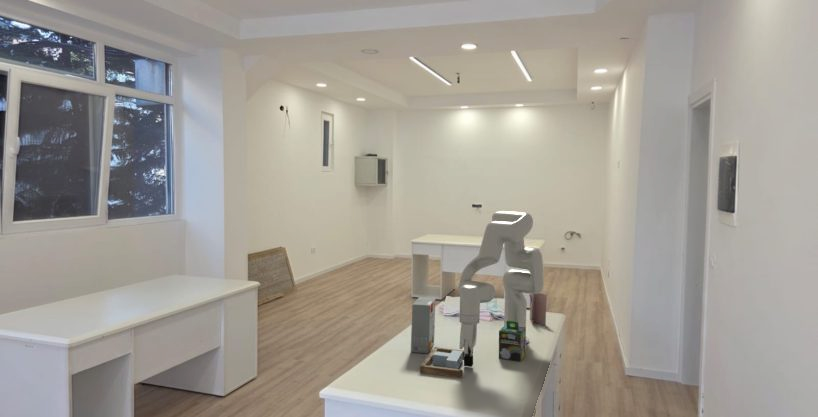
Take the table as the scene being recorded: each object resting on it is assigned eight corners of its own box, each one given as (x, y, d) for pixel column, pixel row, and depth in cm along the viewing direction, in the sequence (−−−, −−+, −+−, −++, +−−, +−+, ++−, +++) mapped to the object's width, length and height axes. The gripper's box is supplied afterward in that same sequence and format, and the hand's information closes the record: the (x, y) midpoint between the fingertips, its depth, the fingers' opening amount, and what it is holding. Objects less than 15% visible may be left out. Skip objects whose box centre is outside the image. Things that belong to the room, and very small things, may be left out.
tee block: (437, 358, 210) (437, 348, 210) (462, 361, 207) (462, 351, 207) (430, 368, 198) (430, 357, 198) (456, 371, 196) (456, 361, 195)
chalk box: (525, 355, 216) (527, 319, 215) (520, 362, 208) (521, 324, 207) (503, 351, 220) (504, 316, 219) (497, 358, 211) (498, 321, 211)
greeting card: (527, 319, 271) (528, 290, 270) (542, 319, 271) (543, 290, 270) (530, 325, 260) (531, 295, 259) (546, 326, 259) (547, 295, 258)
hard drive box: (428, 354, 215) (429, 305, 214) (410, 352, 216) (411, 304, 215) (434, 342, 230) (435, 297, 229) (417, 341, 231) (418, 296, 230)
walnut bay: (434, 353, 216) (434, 347, 216) (472, 357, 212) (472, 351, 211) (420, 372, 194) (420, 366, 194) (461, 377, 190) (461, 371, 189)
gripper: (463, 312, 208) (462, 358, 209) (455, 322, 193) (454, 371, 194) (482, 314, 205) (481, 360, 207) (475, 324, 191) (474, 373, 192)
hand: (468, 365), depth 200 cm, fingers closed
